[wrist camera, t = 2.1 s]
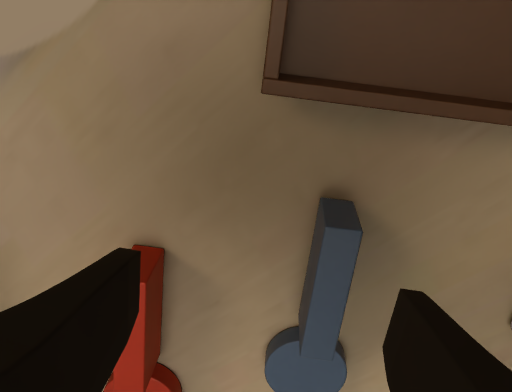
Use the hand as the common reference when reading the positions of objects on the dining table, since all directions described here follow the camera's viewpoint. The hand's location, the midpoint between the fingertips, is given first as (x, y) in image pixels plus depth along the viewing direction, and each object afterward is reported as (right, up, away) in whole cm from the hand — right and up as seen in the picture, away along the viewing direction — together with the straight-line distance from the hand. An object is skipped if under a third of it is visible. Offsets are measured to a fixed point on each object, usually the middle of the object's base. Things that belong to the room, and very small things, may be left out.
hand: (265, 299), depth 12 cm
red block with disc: (-6, -5, +13) cm, 16 cm away
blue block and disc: (+3, -3, +11) cm, 12 cm away
